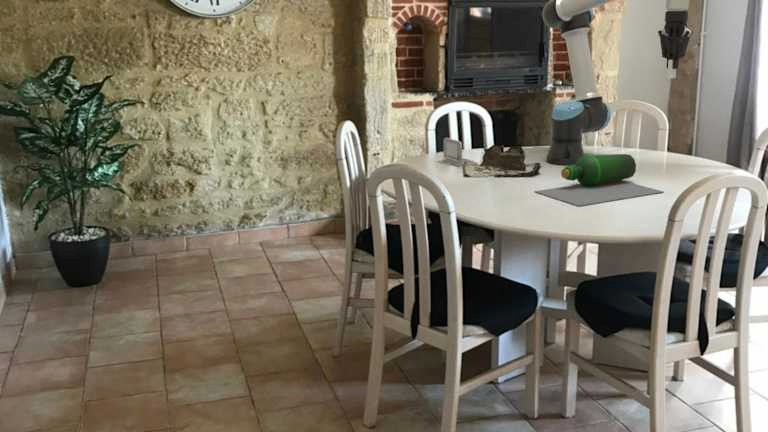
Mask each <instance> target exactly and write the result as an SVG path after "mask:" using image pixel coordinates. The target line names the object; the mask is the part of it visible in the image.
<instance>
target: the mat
mask: <svg viewBox="0 0 768 432" xmlns="http://www.w3.org/2000/svg"><path fill="white" fill-rule="evenodd" d="M534 193H536V194H538V195H541V196H544V197H548V198H551V199H552V200H556V201H560V202H563V203H565V204H570V205H572V206H575V207H578V208H579V207H587V206H591V205H598V204H604V203H608V202H609V203H610V202H611V203H612V202H615V201H621V200H628V199H634V198H639V197H646V196H652V195H658V194H659V195H660V194H664V190H659V189H656V188H652V187H648V186H645V185H640V184H635V183H632V182H628V181H625V180H618V181H613V182H608V183H603V184H598V185H593V186H584V185H582V184H573V185H568V186H560V187H555V188H547V189H540V190H535V191H534Z"/></svg>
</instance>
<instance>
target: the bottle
mask: <svg viewBox="0 0 768 432" xmlns="http://www.w3.org/2000/svg"><path fill="white" fill-rule="evenodd" d="M584 155H585V154H584ZM636 169H637V163H636V160H635V158H634V157H633V156H632V155H631V154H627V153H623V154H622V153H620V154H592V155H591V154H589V155H588V154H587V155H585V156H583V157H581V158H579V159H578V161H577V162H576V164H575V165H565V166H564V168H563V169H561V177H562V178H563V179H565V180H567V181H578V183H580V184H582V185H584V186H593V185H598V184H603V183H608V182H613V181H618V180H622V181H624V180H627V179H630V178H632V177H634V175H635V173H636V172H637V170H636ZM580 184H579V185H580Z"/></svg>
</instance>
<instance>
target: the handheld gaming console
mask: <svg viewBox="0 0 768 432" xmlns="http://www.w3.org/2000/svg"><path fill="white" fill-rule="evenodd" d="M464 161H466V162H467V163H468V164H469V165H478V162H477V161H474V160H473V159H469V158H465V157H463V143H462V141H460V140H456V139H453V138H450V137H444V138H443V159H442V161H441V162H442V163H443V162H444V163H446V164H449V165H453V166H456V167H458V168H463V162H464Z"/></svg>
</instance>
